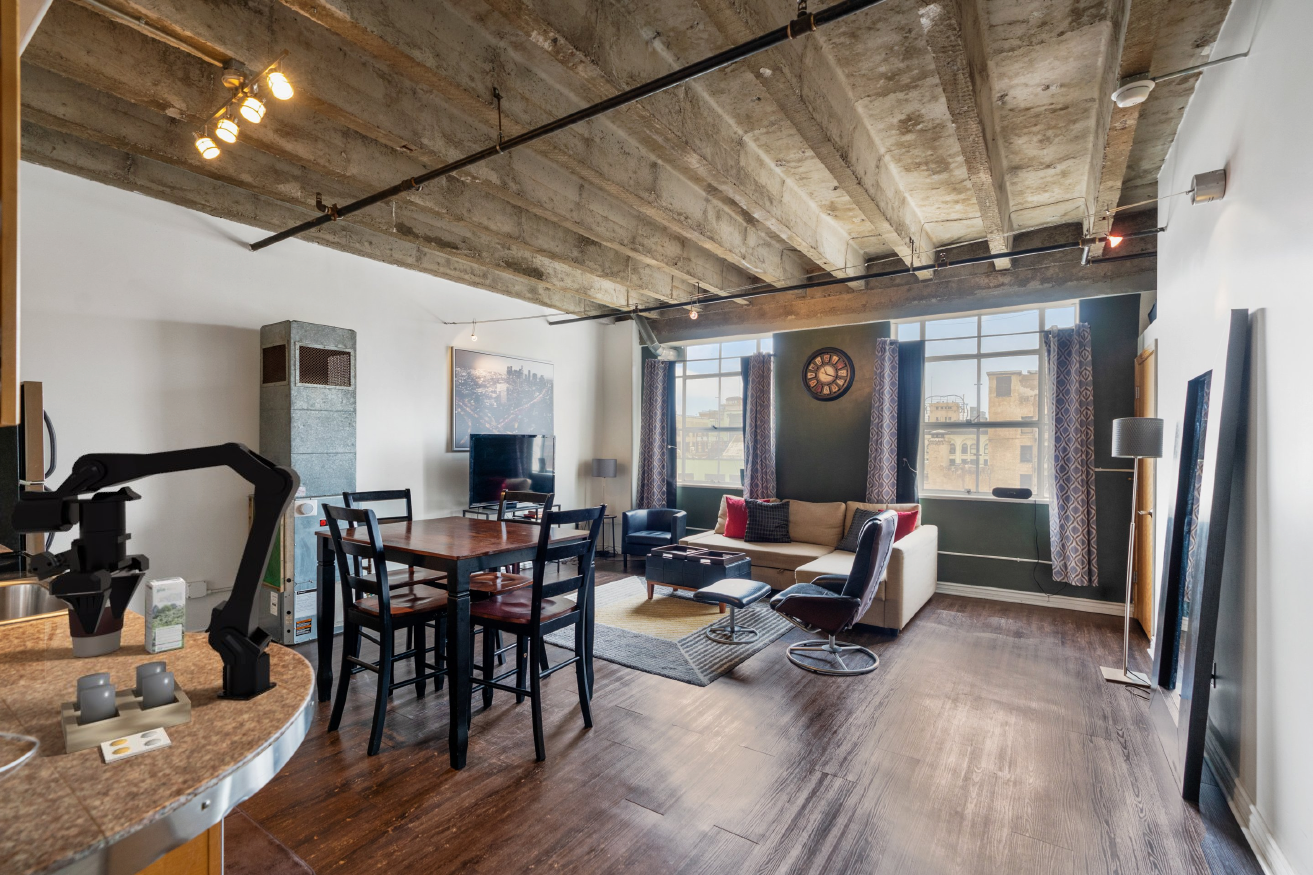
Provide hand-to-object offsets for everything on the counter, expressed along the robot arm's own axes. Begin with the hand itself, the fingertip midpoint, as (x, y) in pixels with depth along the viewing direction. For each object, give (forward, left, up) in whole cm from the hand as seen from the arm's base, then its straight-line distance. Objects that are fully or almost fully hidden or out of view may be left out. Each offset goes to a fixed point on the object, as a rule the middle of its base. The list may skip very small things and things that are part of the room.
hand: (104, 625), depth 102 cm
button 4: (-13, +3, -11) cm, 17 cm away
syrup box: (+19, -28, -14) cm, 36 cm away
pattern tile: (-17, +10, -14) cm, 24 cm away
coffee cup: (+31, -24, -14) cm, 41 cm away
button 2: (-9, +8, -11) cm, 16 cm away
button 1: (-3, +4, -11) cm, 12 cm away
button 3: (-7, -1, -11) cm, 13 cm away
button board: (-8, +4, -14) cm, 16 cm away
